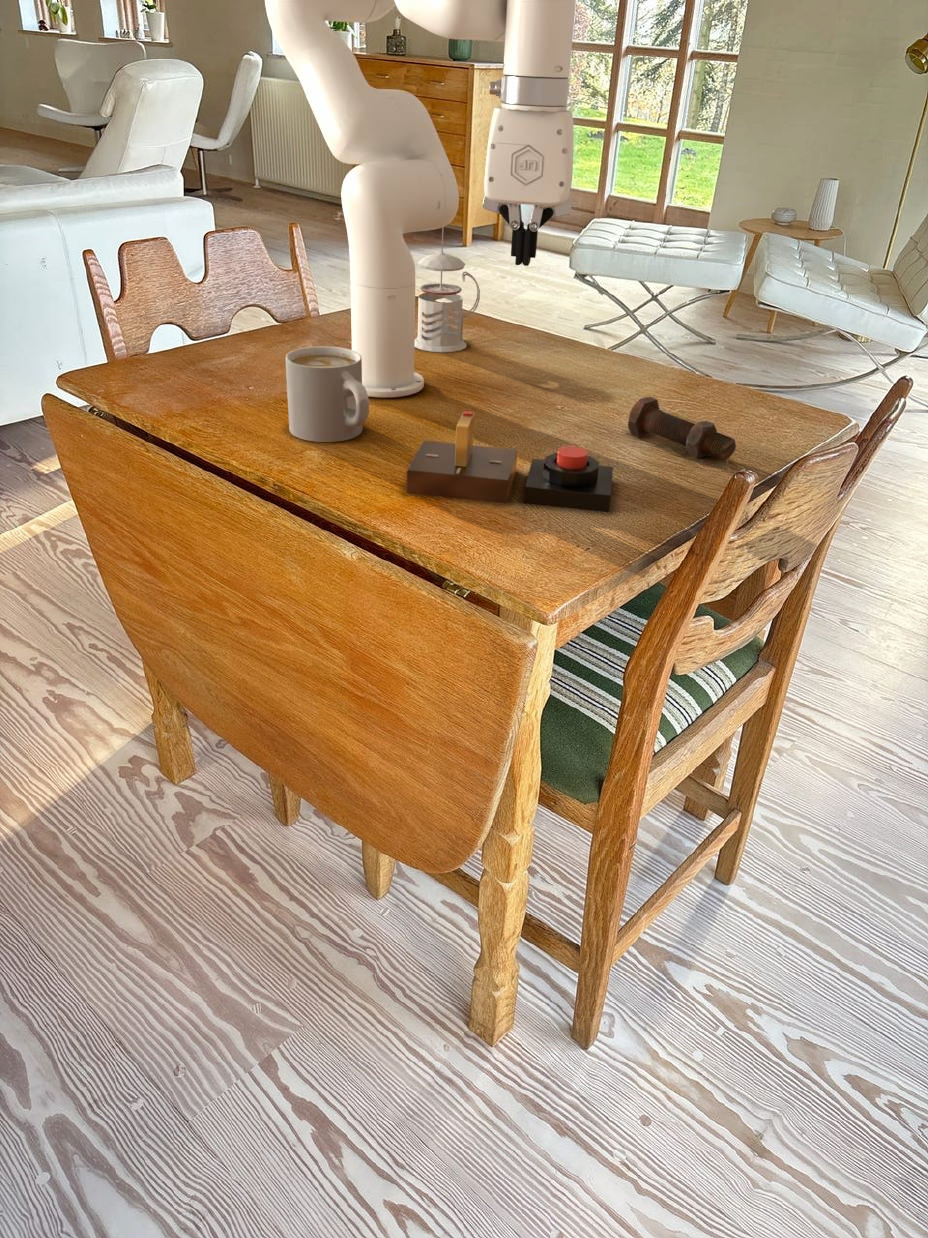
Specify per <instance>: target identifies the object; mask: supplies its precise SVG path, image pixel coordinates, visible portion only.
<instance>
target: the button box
mask: <svg viewBox="0 0 928 1238" xmlns="http://www.w3.org/2000/svg"><path fill="white" fill-rule="evenodd" d="M557 453H558V452H553V453H551V454H548V455H547V456H545V457H544V459H538V458H532V459H531V463H530V465H529V466H530V467H529V471H528V475H527V478H526V481H525V485H524V495H523V504H524V505H525V504H526V505H536V506H545V507H553V508H562V509H563V508H564V509H573V510H581V511H582V510H583V511H592V512H601V513H609V512H610V507H611V506H610V505H611V498H612V485H613V471H614V470H613V469H614V467H613V466H609V465H600V462H599V461H598V460H597V459H595V458H594V457H593V456H590V455H588V458H587V467H586V468H584V469H566V468H563V467H560V466H558V465H557V464H556V463H557Z"/></svg>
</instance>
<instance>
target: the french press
mask: <svg viewBox="0 0 928 1238" xmlns="http://www.w3.org/2000/svg"><path fill="white" fill-rule="evenodd" d="M444 228H445V226H444V227H442V228H441V252H439V253H434V254H428V255H426V256H424V257H423V258H421V259H420V260H418V262H417V265H418V267H420V268H421V269H424V270H427V271H434V272H440V282H439V283H437V282H433V283H425V284H422V285H421V286H420V287H419V288H420V290H421V291H422V293H421V294H418V299H417V300H418V302H417V305H418V306H417V307H418V308H417V337H415V349H419V350H421V351H426V352H433V353H453V352H459V351H462V350H465V349H466V348H467V343H466V342H465V341H464V340H463V330H464V319H465V318H468V317H469V316H471V315H472V314H474V313H475V311H477V310H476V309H477V308H478V306H479V303H480V298H481V290H480V286H479V284H478V281H477V280H476V278H475V276H473V275H472V274H471V273H469V272H468V271H463V272H462V275H461V279H462V282H465V280H466V276H467V277H469V278H471V279H472V280H473V281H474V283H475V285H476V299H475V302H474V304H473V306H472V308H470V309H469V310H467V311H466V312H463V300H464V299H463V297H462V296H461V295H460V293H461V291H462V287H461V286H459V285H457V284H453V283H443V272H457V271H462V270H463V269H465V267H466V263H465V262H464V261H463V260H462V259H460V257H456V256H454V255H452V254H449V253H445V252H444ZM443 299H445V300H449V302H446V301H442V302H440V301H437V300H443ZM448 309H449V310H448ZM450 310H452V311H453V312H452V311H450ZM424 315H426V316H424ZM450 317H451V318H453V319H451V318H450ZM423 322H425V323H423ZM451 325H452V326H453V327H452V326H451ZM423 329H424V330H423Z"/></svg>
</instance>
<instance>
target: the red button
mask: <svg viewBox="0 0 928 1238" xmlns="http://www.w3.org/2000/svg"><path fill="white" fill-rule="evenodd" d="M556 453H557V463H556V464H557V465H558V466H560V467H563V468H566V469H584V468H586V467H587V458H588V456H589V452H588V450H587V449H585V448H582V447H580V446H575V445H566V446H562V447H559V448H558V449H557V452H556Z"/></svg>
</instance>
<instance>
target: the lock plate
mask: <svg viewBox="0 0 928 1238" xmlns="http://www.w3.org/2000/svg"><path fill="white" fill-rule="evenodd" d="M455 449H456V443H452V442H443V441H442V442H441V441H434V440H423V441H422V442H421V444H420V446H419V448H418V449H417V451H416V453H415V455H414V457H413V458H412V460H411V462H410V464H409V466H408V468H407V469H406V493H407V494H414V495H421V496H422V495H423V496H430V497H431V496H433V497H442V498H453V499H459V500H460V499H463V500H471V501H478V502H479V501H480V502H488V503H489V502H490V503H499V504H507V503H508V499H509V496H510V493H511V490H512V486H513V482H514V479H515V475H516V473H517V460H518V449H514V448H503V447H493V446H484V445H474V444H473V452H472V455H471V457H470V459H469V462H468V464H467V466H466V467H461V466H455Z"/></svg>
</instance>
